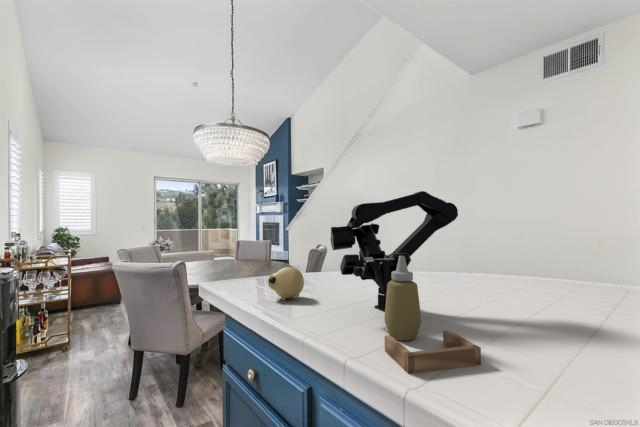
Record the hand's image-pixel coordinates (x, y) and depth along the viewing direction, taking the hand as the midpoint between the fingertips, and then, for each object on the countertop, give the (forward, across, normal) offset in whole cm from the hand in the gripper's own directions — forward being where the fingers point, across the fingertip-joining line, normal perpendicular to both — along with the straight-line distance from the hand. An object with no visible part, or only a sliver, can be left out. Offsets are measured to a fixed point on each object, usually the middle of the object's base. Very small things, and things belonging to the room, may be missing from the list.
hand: (385, 290), depth 76 cm
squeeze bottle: (+12, 0, 0) cm, 12 cm away
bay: (+20, 0, +8) cm, 21 cm away
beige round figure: (-16, +22, -28) cm, 39 cm away
